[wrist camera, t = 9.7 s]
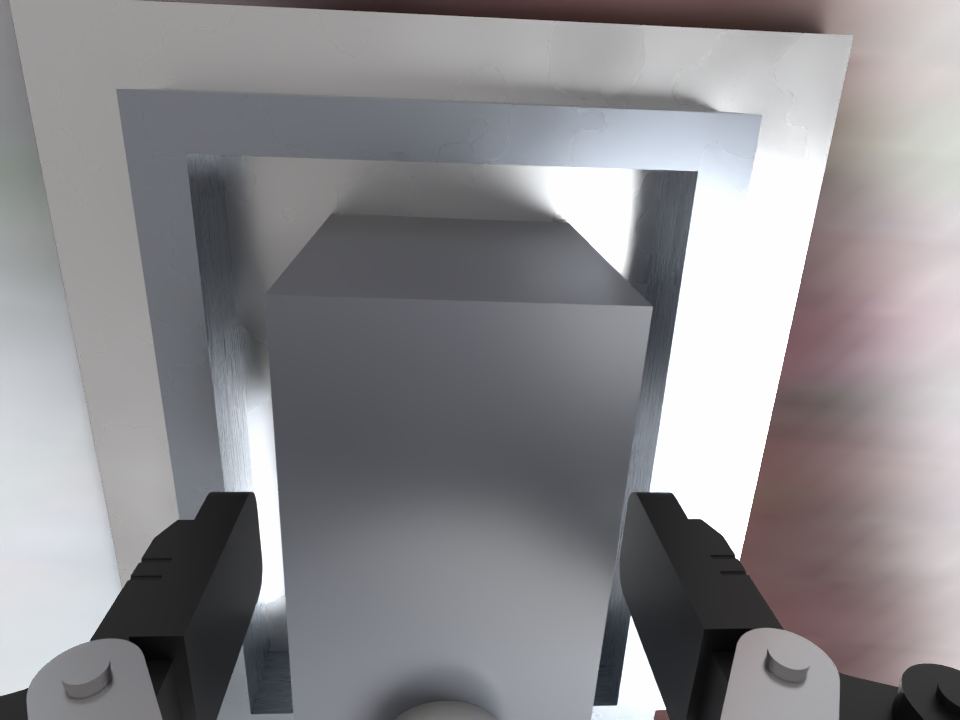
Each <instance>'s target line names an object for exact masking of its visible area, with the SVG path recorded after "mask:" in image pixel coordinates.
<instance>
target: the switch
mask: <svg viewBox="0 0 960 720" xmlns="http://www.w3.org/2000/svg"><path fill="white" fill-rule="evenodd" d="M9 3H10V8H11V13H12V19H13V24H14V29H15V34H16V39H17V45H18V50H19V55H20V60H21V65H22V70H23V76H24V81H25V86H26V91H27V96H28V102H29V107H30V112H31V117H32V122H33V128H34V133H35V138H36V143H37V148H38V154H39V159H40V164H41V169H42V174H43V180H44V185H45V190H46V195H47V200H48V206H49V211H50V216H51V221H52V226H53V232H54V237H55V242H56V247H57V252H58V258H59V263H60V268H61V273H62V278H63V283H64V289H65V294H66V299H67V304H68V309H69V315H70V320H71V325H72V330H73V335H74V341H75V346H76V351H77V356H78V361H79V367H80V372H81V377H82V382H83V387H84V393H85V398H86V403H87V408H88V413H89V419H90V424H91V429H92V434H93V439H94V445H95V450H96V455H97V460H98V465H99V471H100V476H101V481H102V486H103V491H104V496H105V502H106V507H107V512H108V517H109V522H110V528H111V533H112V538H113V543H114V548H115V554H116V559H117V564H118V569H119V574H120V580H121V585H122V589H123V587H124V585H125V584H126V582H127V581H128V580H130V578H131V574H132V573H133V571H134V569H135V568H136V566H137V565H138V563H141V558H142V557H143V555H144V553H145V552H146V550H147V549H148V547H149V545H150V544H151V542H152V541H153V539H154V538H155V537H156V536H157V535H159V534H160V533H161V532H162V531H164V530H165V529H166V528H168V527H169V526H170V525H171V524H173V523H174V522H175V521H177V520H194V519H195V517H196V515H197V513H198V511H199V510H200V508H201V506H202V504H203V502H204V501H205V499H206V497H207V495H208V494H209V493H210V492H254V494H255V496H256V500H257V509H258V519H259V529H260V540H261V550H262V561H263V574H262V584H261V590H260V595H259V598H258V601H257V604H256V607H255V610H254V613H253V616H252V618H251V621H250V624H249V627H248V630H247V633H246V636H245V639H244V642H243V645H242V647H241V650H240V653H239V656H238V659H237V662H236V665H235V668H234V671H233V673H232V676H231V679H230V682H229V685H228V688H227V691H226V694H225V697H224V700H223V702H222V705H221V708H220V711H219V714H218V717H217V720H294V717H293V703H292V688H291V674H290V659H289V645H288V630H287V615H286V601H285V586H284V572H283V557H282V542H281V528H280V513H279V499H278V484H277V470H276V455H275V440H274V426H273V411H272V397H271V382H270V367H269V353H268V338H267V324H266V309H265V294H266V292H267V291H268V290H269V289H270V287H271V286H272V285H273V284H274V283H275V281H276V280H277V279H278V278H279V277H280V275H281V274H282V273H283V272H284V270H285V269H286V268H287V267H288V266H289V264H290V263H291V262H292V261H293V260H294V258H295V257H296V256H297V255H298V253H299V252H300V251H301V250H302V249H303V247H304V246H305V245H306V244H307V243H308V241H309V240H310V239H311V238H312V237H313V235H314V234H315V233H316V232H317V230H318V229H319V228H320V227H321V226H322V224H323V223H324V222H325V221H326V220H327V218H328V217H329V216H330V215H331V214H354V215H379V216H404V217H430V218H455V219H480V220H506V221H531V222H556V223H570V224H571V225H572V226H573V227H574V228H575V229H576V230H577V231H578V232H579V233H580V234H581V235H582V236H583V237H584V238H585V239H586V240H587V241H588V242H589V243H590V244H591V245H592V246H593V247H594V248H595V249H596V250H597V251H598V252H599V253H600V254H601V255H602V256H603V257H604V258H605V259H606V260H607V261H608V262H609V263H610V264H611V265H612V266H613V267H614V268H615V269H616V270H617V271H618V272H619V273H620V274H621V275H622V276H623V277H624V278H625V279H626V280H627V281H628V282H629V283H630V284H631V285H632V286H633V287H634V288H635V289H636V290H637V291H638V292H639V293H640V294H641V295H642V296H643V297H644V298H645V299H646V300H647V301H648V302H649V303H650V304H651V305H652V306H653V310H652V317H651V323H650V330H649V337H648V343H647V350H646V357H645V364H644V370H643V377H642V384H641V390H640V397H639V404H638V410H637V417H636V424H635V430H634V437H633V444H632V450H631V457H630V464H629V470H628V477H627V484H626V490H625V497H624V504H623V510H622V517H621V524H620V530H619V537H618V544H617V550H616V557H615V564H614V570H613V577H612V584H611V590H610V597H609V604H608V610H607V617H606V624H605V630H604V637H603V644H602V650H601V657H600V664H599V670H598V677H597V684H596V691H595V697H594V704H593V711H592V717H591V720H654V714H655V710H666V708H665V705H664V702H663V700H662V697H661V694H660V692H659V689H658V686H657V684H656V681H655V678H654V676H653V673H652V670H651V668H650V665H649V662H648V660H647V657H646V654H645V652H644V649H643V646H642V643H641V641H640V638H639V635H638V633H637V630H636V627H635V625H634V622H633V619H632V617H631V614H630V611H629V609H628V606H627V603H626V601H625V598H624V595H623V592H622V588H621V582H620V572H619V563H620V554H621V546H622V539H623V532H624V525H625V518H626V510H627V504H628V499H629V496H630V494H631V493H632V492H671V493H673V494H674V495H675V497H676V499H677V500H678V502H679V504H680V505H681V507H682V509H683V510H684V512H685V514H686V515H687V517H688V519H702V520H704V521H705V522H706V523H707V524H709V525H710V526H711V527H713V528H714V529H715V530H716V531H718V532H719V533H720V534H722V535H723V536H724V538H725V540H726V541H727V543H728V544H729V546H730V547H731V549H732V550H733V552H734V554H735V558H736V559H738V560H740V556H741V551H742V547H743V542H744V537H745V533H746V528H747V524H748V519H749V514H750V510H751V505H752V501H753V496H754V491H755V487H756V482H757V478H758V473H759V469H760V464H761V459H762V455H763V450H764V446H765V441H766V436H767V432H768V427H769V423H770V418H771V413H772V409H773V404H774V400H775V395H776V391H777V386H778V381H779V377H780V372H781V368H782V363H783V358H784V354H785V349H786V345H787V340H788V335H789V331H790V326H791V322H792V317H793V312H794V308H795V303H796V299H797V294H798V290H799V285H800V280H801V276H802V271H803V267H804V262H805V257H806V253H807V248H808V244H809V239H810V234H811V230H812V225H813V221H814V216H815V212H816V207H817V202H818V198H819V193H820V189H821V184H822V179H823V175H824V170H825V166H826V161H827V156H828V152H829V147H830V143H831V138H832V133H833V129H834V124H835V120H836V115H837V111H838V106H839V101H840V97H841V92H842V88H843V83H844V78H845V74H846V69H847V65H848V60H849V55H850V51H851V46H852V42H853V37H854V36H852V35H832V34H811V33H791V32H771V31H751V30H730V29H710V28H690V27H669V26H649V25H629V24H608V23H588V22H568V21H547V20H527V19H507V18H487V17H466V16H446V15H426V14H405V13H385V12H365V11H344V10H324V9H304V8H283V7H263V6H243V5H223V4H202V3H182V2H162V1H141V0H9Z"/></svg>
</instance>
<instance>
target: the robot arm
mask: <svg viewBox="0 0 960 720" xmlns="http://www.w3.org/2000/svg"><path fill="white" fill-rule="evenodd" d="M619 572H620V582H621V588H622V592H623V595H624V598H625V601H626V603H627V606H628V609H629V611H630V614H631V617H632V619H633V622H634V625H635V627H636V630H637V633H638V635H639V638H640V641H641V643H642V646H643V649H644V652H645V654H646V657H647V660H648V662H649V665H650V668H651V670H652V673H653V676H654V678H655V681H656V684H657V686H658V689H659V692H660V694H661V697H662V700H663V702H664V705H665V708H666V710H667V713H668V716H669V718H670V720H960V671H959V670H957V669H954V668H951V667H947V666H943V665H937V664H917V665H914V666H911V667H910V668H908V669H907V670H906V671H905V672H904V674H903V676H902V678H901V681H900V684H899V687H895V686H890V685H886V684H882V683H877V682H873V681H869V680H865V679H860V678H856V677H852V676H848V675H845V674H842V673H839V672H838V671H837V668H836V667H835V665H834V663H833V662H832V660H831V659H830V658H829V657H828V656H827V655H826V654H825V653H824V652H823V651H822V650H821V649H820V648H819V647H817V646H816V645H815V644H813V643H812V642H810V641H809V640H807V639H805V638H803V637H801V636H799V635H796V634H794V633H791V632H788V631H785V630H784V629H783V628H782V626H781V625H780V623H779V622H778V620H777V618H776V617H775V615H774V614H773V612H772V611H771V609H770V608H769V606H768V605H767V603H766V601H765V600H764V598H763V597H762V595H761V594H760V592H759V591H758V589H757V588H756V586H755V584H754V583H753V581H752V580H751V578H750V577H749V575H746V571H745V569H744V567H743V566H742V564H741V563H740V561H739V560H738V559H736V558H735V554H734V552H733V550H732V549H731V547H730V546H729V544H728V543H727V541H726V540H725V538H724V536H723V535H722V534H720V533H719V532H718V531H716V530H715V529H714V528H713V527H711V526H710V525H709V524H707V523H706V522H705V521H704V520H702V519H688V517H687V515H686V514H685V512H684V510H683V509H682V507H681V505H680V504H679V502H678V500H677V499H676V497H675V495H674V494H673V493H671V492H632V493H631V494H630V496H629V499H628V504H627V510H626V518H625V525H624V532H623V539H622V546H621V554H620V563H619ZM262 574H263V561H262V550H261V540H260V529H259V519H258V509H257V500H256V496H255V494H254V492H210V493H209V494H208V495H207V497H206V499H205V501H204V502H203V504H202V506H201V508H200V510H199V511H198V513H197V515H196V517H195V519H194V520H177V521H175V522H174V523H173V524H171V525H170V526H169V527H168V528H166V529H165V530H164V531H162V532H161V533H160V534H159V535H157V536H156V537H155V538H154V539H153V541H152V542H151V544H150V545H149V547H148V549H147V550H146V552H145V553H144V555H143V557H142V558H141V563H138V565H137V566H136V568H135V569H134V571H133V573H132V574H131V578H130V580H128V581H127V582H126V584H125V585H124V587H123V589H122V590H121V592H120V594H119V595H118V597H117V598H116V600H115V602H114V603H113V605H112V606H111V608H110V610H109V611H108V613H107V614H106V616H105V618H104V619H103V621H102V622H101V624H100V626H99V627H98V629H97V630H96V632H95V634H94V635H93V637H92V638H91V640H90V642H86V643H83V644H80V645H78V646H75V647H73V648H71V649H69V650H67V651H65V652H63V653H61V654H60V655H58V656H57V657H55V658H54V659H52V660H51V661H50V662H49V663H47V664H46V665H45V666H44V667H43V668H42V669H41V670H40V671H39V672H38V673H37V675H36V676H35V677H34V678H33V680H32V682H31V684H30V686H29V688H27V689H25V690H21V691H18V692H15V693H11V694H7V695H3V696H0V720H217V717H218V714H219V711H220V708H221V705H222V702H223V700H224V697H225V694H226V691H227V688H228V685H229V682H230V679H231V676H232V673H233V671H234V668H235V665H236V662H237V659H238V656H239V653H240V650H241V647H242V645H243V642H244V639H245V636H246V633H247V630H248V627H249V624H250V621H251V618H252V616H253V613H254V610H255V607H256V604H257V601H258V598H259V595H260V590H261V584H262Z"/></svg>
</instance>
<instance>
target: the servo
mask: <svg viewBox="0 0 960 720" xmlns="http://www.w3.org/2000/svg"><path fill="white" fill-rule="evenodd" d="M265 309H266V324H267V338H268V353H269V367H270V382H271V397H272V411H273V426H274V440H275V455H276V470H277V484H278V499H279V513H280V528H281V542H282V557H283V572H284V586H285V601H286V615H287V630H288V645H289V659H290V674H291V688H292V703H293V717H294V720H591V717H592V711H593V704H594V697H595V691H596V684H597V677H598V670H599V664H600V657H601V650H602V644H603V637H604V630H605V624H606V617H607V610H608V604H609V597H610V590H611V584H612V577H613V570H614V564H615V557H616V550H617V544H618V537H619V530H620V524H621V517H622V510H623V504H624V497H625V490H626V484H627V477H628V470H629V464H630V457H631V450H632V444H633V437H634V430H635V424H636V417H637V410H638V404H639V397H640V390H641V384H642V377H643V370H644V364H645V357H646V350H647V343H648V337H649V330H650V323H651V317H652V310H653V306H652V305H651V304H650V303H649V302H648V301H647V300H646V299H645V298H644V297H643V296H642V295H641V294H640V293H639V292H638V291H637V290H636V289H635V288H634V287H633V286H632V285H631V284H630V283H629V282H628V281H627V280H626V279H625V278H624V277H623V276H622V275H621V274H620V273H619V272H618V271H617V270H616V269H615V268H614V267H613V266H612V265H611V264H610V263H609V262H608V261H607V260H606V259H605V258H604V257H603V256H602V255H601V254H600V253H599V252H598V251H597V250H596V249H595V248H594V247H593V246H592V245H591V244H590V243H589V242H588V241H587V240H586V239H585V238H584V237H583V236H582V235H581V234H580V233H579V232H578V231H577V230H576V229H575V228H574V227H573V226H572V225H571V224H570V223H556V222H531V221H506V220H480V219H455V218H430V217H404V216H379V215H354V214H331V215H330V216H329V217H328V218H327V220H326V221H325V222H324V223H323V224H322V226H321V227H320V228H319V229H318V230H317V232H316V233H315V234H314V235H313V237H312V238H311V239H310V240H309V241H308V243H307V244H306V245H305V246H304V247H303V249H302V250H301V251H300V252H299V253H298V255H297V256H296V257H295V258H294V260H293V261H292V262H291V263H290V264H289V266H288V267H287V268H286V269H285V270H284V272H283V273H282V274H281V275H280V277H279V278H278V279H277V280H276V281H275V283H274V284H273V285H272V286H271V287H270V289H269V290H268V291H267V292H266V294H265Z"/></svg>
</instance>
